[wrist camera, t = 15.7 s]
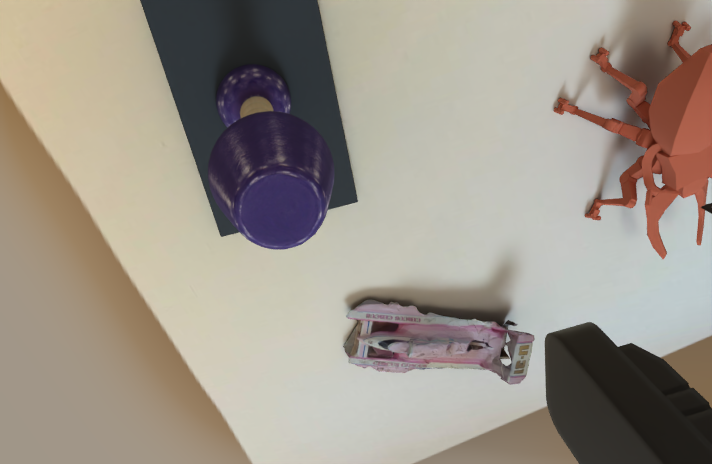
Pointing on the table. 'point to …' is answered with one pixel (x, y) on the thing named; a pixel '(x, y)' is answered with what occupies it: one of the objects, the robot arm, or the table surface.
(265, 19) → the mat
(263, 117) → the toy lamp
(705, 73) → the beetle
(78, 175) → the table surface
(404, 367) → the boxed toy car
